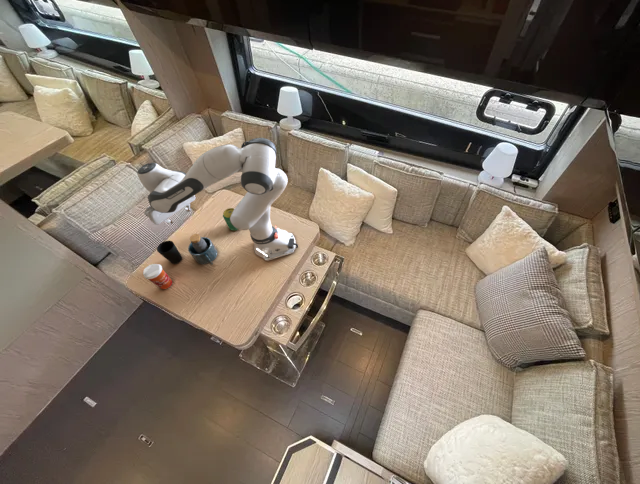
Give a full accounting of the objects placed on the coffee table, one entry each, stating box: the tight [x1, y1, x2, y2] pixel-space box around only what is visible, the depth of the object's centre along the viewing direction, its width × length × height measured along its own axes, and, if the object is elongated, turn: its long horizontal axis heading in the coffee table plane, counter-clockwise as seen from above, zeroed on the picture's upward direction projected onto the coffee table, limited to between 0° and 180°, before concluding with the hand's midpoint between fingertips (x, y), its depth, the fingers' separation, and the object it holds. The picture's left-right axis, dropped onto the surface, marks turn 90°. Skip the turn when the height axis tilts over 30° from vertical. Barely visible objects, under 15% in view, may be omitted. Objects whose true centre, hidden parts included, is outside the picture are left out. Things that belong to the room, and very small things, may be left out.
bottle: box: [189, 233, 209, 254], centre depth 142 cm, size 6×6×15 cm
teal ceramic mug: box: [187, 236, 219, 266], centre depth 144 cm, size 15×11×9 cm
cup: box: [156, 240, 183, 265], centre depth 141 cm, size 8×8×12 cm
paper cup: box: [142, 263, 173, 290], centre depth 131 cm, size 8×8×14 cm
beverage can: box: [222, 207, 240, 232], centre depth 157 cm, size 8×8×12 cm
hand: (179, 216), depth 129 cm, fingers open, 8 cm apart
